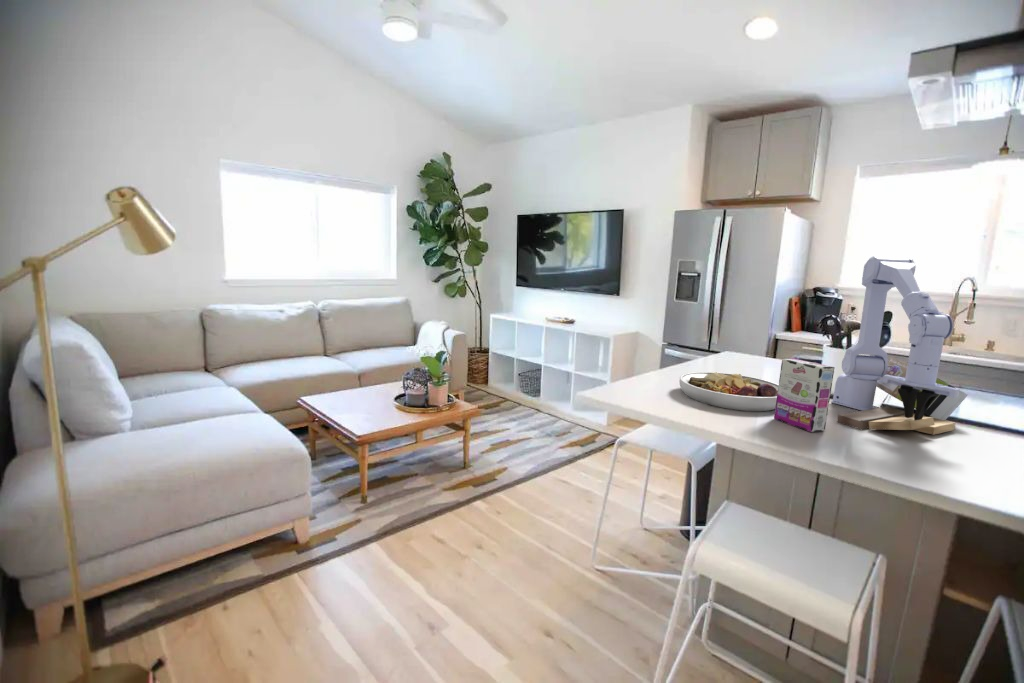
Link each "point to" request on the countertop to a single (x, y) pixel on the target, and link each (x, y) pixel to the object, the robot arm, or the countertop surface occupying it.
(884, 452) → the countertop surface
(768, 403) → the bowl
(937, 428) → the plank
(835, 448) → the countertop surface
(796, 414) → the candy bar box
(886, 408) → the floor board
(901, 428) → the plank
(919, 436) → the countertop surface
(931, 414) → the tea box
